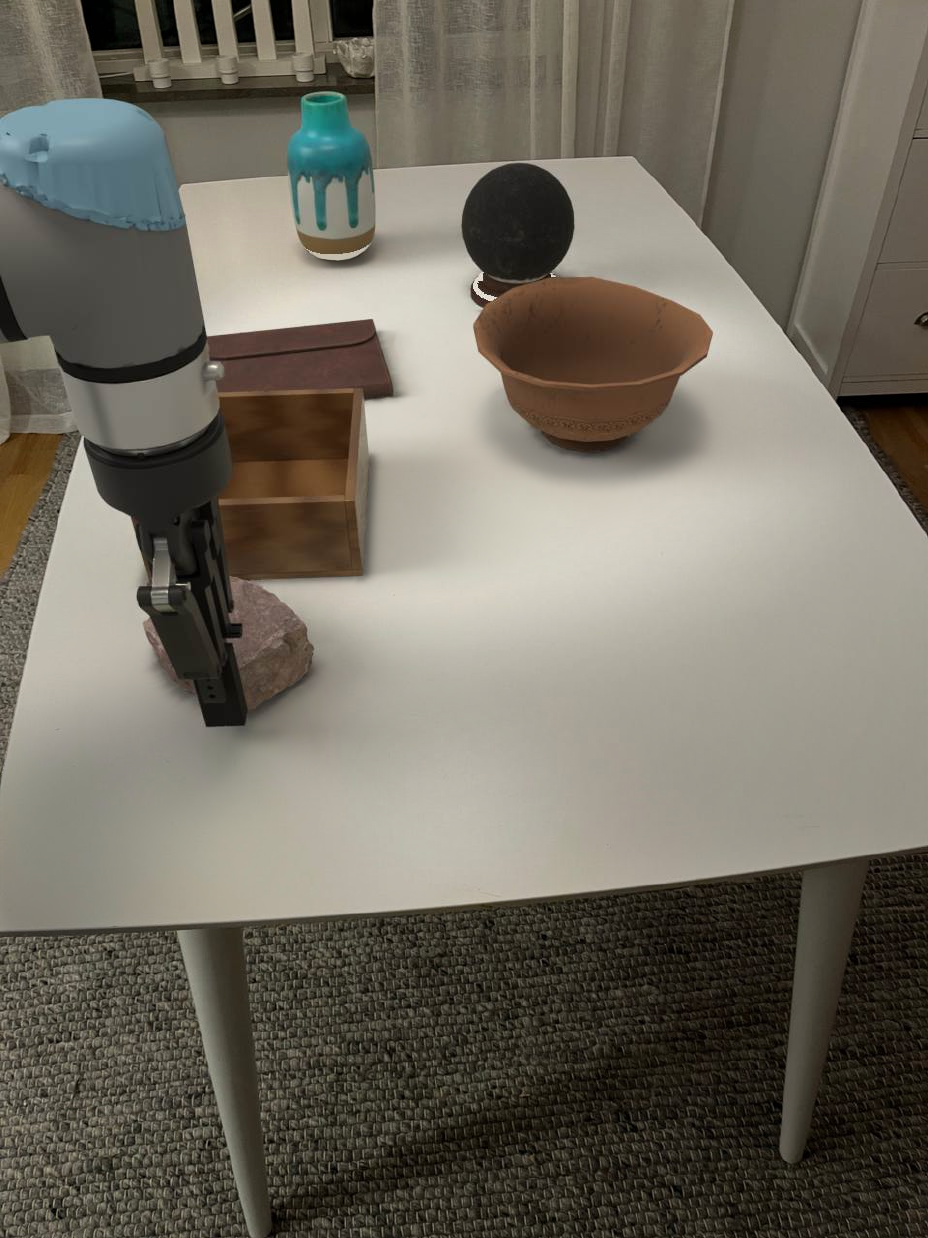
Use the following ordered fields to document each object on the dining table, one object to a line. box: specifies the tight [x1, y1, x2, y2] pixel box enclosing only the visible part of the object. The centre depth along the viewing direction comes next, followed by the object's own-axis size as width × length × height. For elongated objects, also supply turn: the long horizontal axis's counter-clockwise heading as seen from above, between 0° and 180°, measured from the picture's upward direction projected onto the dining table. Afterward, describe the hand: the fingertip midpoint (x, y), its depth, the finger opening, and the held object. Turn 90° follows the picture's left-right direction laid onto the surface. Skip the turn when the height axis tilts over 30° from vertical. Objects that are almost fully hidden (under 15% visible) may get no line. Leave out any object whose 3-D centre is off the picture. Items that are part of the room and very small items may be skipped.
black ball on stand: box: [460, 162, 576, 309], centre depth 119 cm, size 13×13×15 cm
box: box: [130, 388, 370, 583], centre depth 88 cm, size 18×18×8 cm
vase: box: [286, 91, 377, 254], centre depth 127 cm, size 11×11×19 cm
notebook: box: [207, 318, 394, 400], centre depth 109 cm, size 15×20×2 cm
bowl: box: [472, 276, 714, 453], centre depth 97 cm, size 22×22×11 cm
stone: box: [142, 576, 315, 712], centre depth 75 cm, size 12×9×5 cm
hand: (227, 718), depth 70 cm, fingers closed
